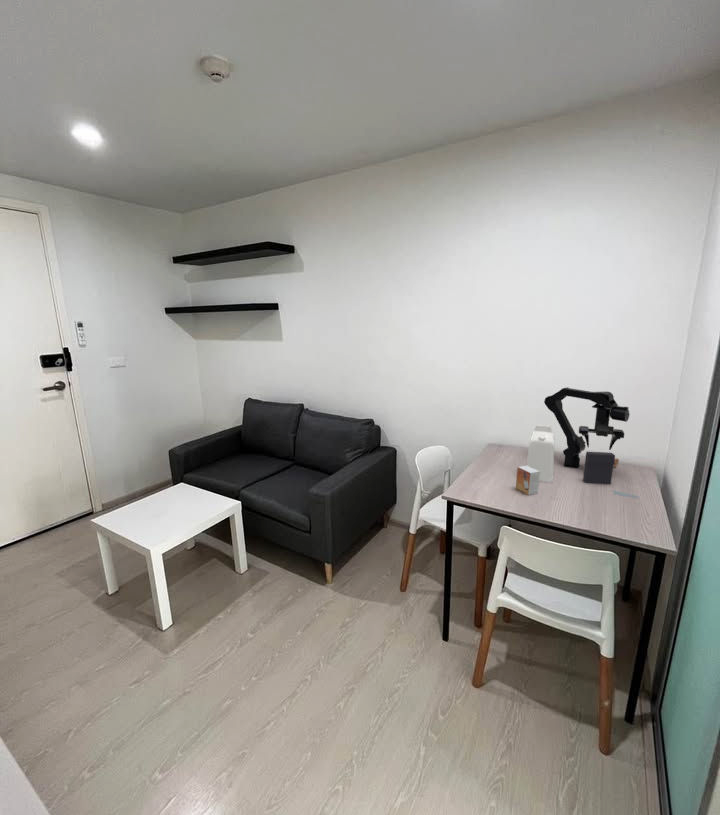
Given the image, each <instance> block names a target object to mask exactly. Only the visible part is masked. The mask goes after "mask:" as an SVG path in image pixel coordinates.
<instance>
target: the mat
mask: <svg viewBox="0 0 720 815" xmlns="http://www.w3.org/2000/svg"><path fill="white" fill-rule="evenodd" d="M612 492H613V495H615V496H616V495H617V496H623V497H628V498H635V499H640V497H639V496H638V495H635V494H630V493H626V492H622V491H617V490H612Z"/></svg>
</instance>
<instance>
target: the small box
mask: <svg viewBox="0 0 720 815" xmlns="http://www.w3.org/2000/svg"><path fill="white" fill-rule="evenodd" d="M516 472H517V473H516V480H515V482H516V483H515V489H516V490H518V491H519V492H521V493H523V494H526V495H527V496H530V495H535V494H536V495H537V494H538V493H539V486H540V481H539V477H540V471H538V470H535V469H533V468H531V467H529V466H527V465H522V466H518V467H517V471H516Z"/></svg>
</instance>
